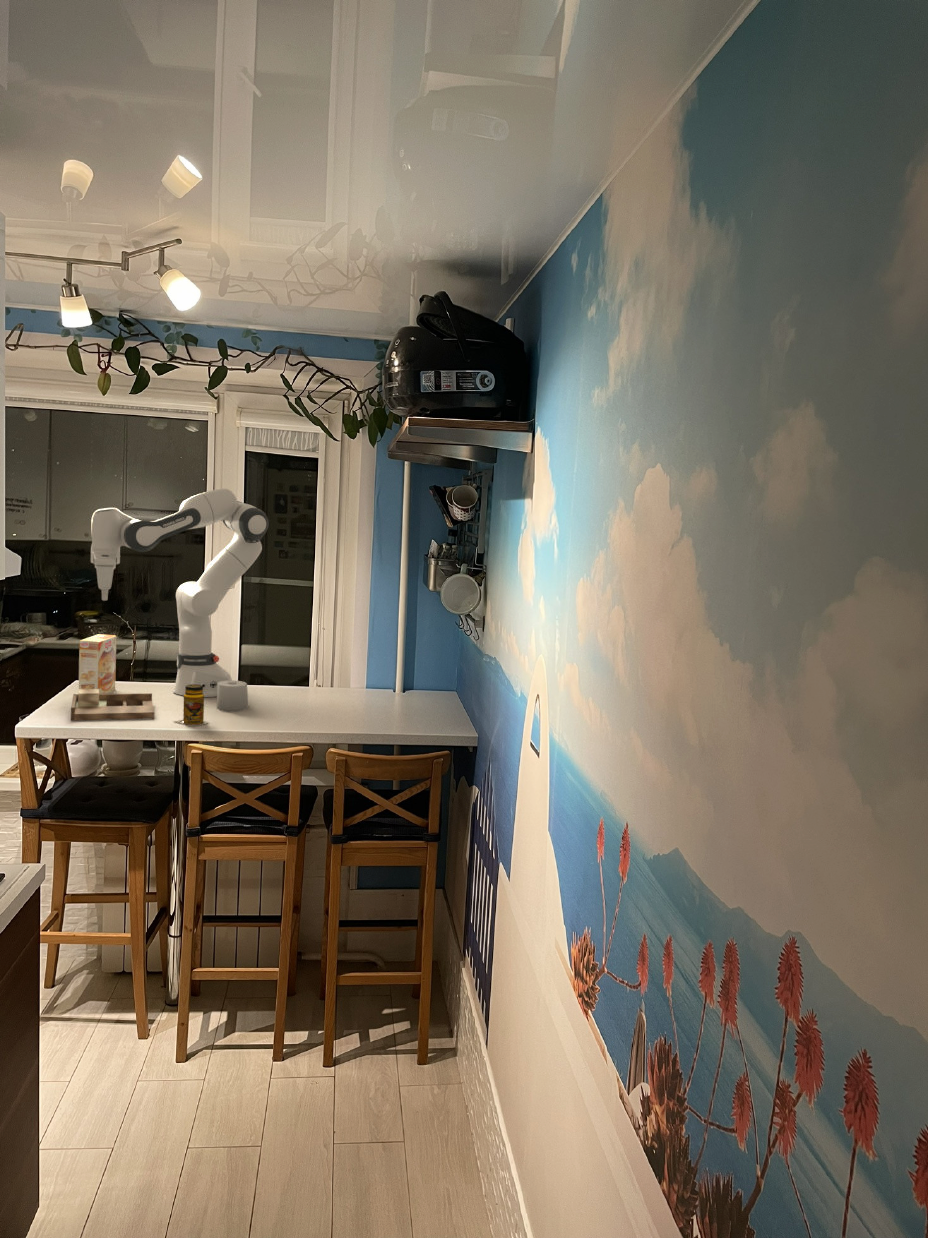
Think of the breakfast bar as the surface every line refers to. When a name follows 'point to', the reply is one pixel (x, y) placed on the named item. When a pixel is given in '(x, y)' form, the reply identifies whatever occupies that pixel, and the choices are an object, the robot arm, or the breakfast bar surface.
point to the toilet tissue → (232, 696)
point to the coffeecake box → (97, 663)
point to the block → (88, 697)
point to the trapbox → (115, 707)
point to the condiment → (193, 706)
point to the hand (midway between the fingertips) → (104, 599)
